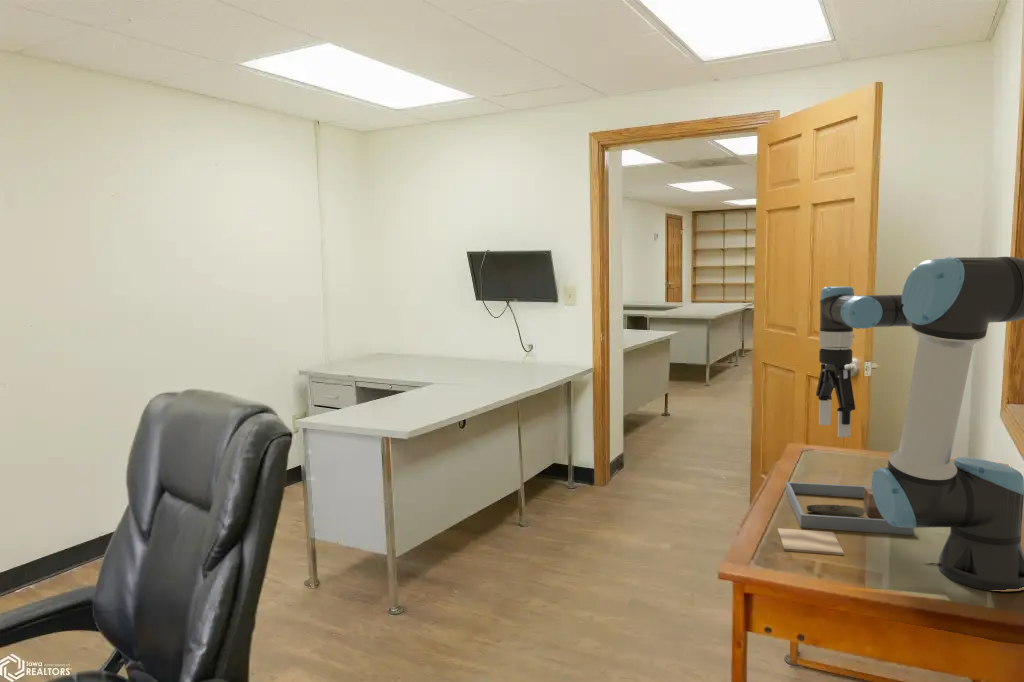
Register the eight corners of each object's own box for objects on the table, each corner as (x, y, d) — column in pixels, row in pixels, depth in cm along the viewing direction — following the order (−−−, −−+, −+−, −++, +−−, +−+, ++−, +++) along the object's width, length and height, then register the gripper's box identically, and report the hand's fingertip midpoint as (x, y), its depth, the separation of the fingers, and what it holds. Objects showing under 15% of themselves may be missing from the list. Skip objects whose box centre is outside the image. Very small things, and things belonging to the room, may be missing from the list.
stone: (863, 514, 169) (863, 505, 169) (866, 521, 165) (866, 512, 164) (806, 509, 174) (806, 500, 174) (807, 516, 169) (807, 507, 169)
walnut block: (890, 518, 167) (891, 494, 166) (868, 517, 168) (868, 493, 168) (885, 511, 172) (885, 488, 171) (863, 510, 173) (863, 487, 172)
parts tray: (913, 535, 156) (913, 522, 156) (800, 527, 162) (800, 515, 162) (882, 498, 181) (882, 487, 181) (786, 492, 187) (786, 481, 187)
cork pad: (844, 555, 146) (844, 552, 146) (784, 550, 149) (784, 548, 149) (832, 534, 158) (832, 532, 158) (777, 530, 161) (777, 528, 161)
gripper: (872, 353, 159) (869, 442, 161) (833, 342, 184) (831, 420, 186) (838, 353, 160) (836, 442, 162) (804, 343, 185) (803, 420, 187)
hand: (833, 430), depth 174 cm, fingers open, 13 cm apart
